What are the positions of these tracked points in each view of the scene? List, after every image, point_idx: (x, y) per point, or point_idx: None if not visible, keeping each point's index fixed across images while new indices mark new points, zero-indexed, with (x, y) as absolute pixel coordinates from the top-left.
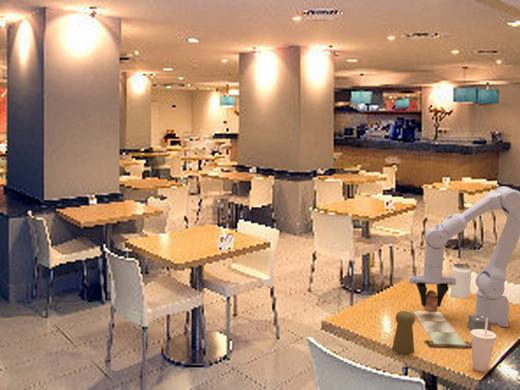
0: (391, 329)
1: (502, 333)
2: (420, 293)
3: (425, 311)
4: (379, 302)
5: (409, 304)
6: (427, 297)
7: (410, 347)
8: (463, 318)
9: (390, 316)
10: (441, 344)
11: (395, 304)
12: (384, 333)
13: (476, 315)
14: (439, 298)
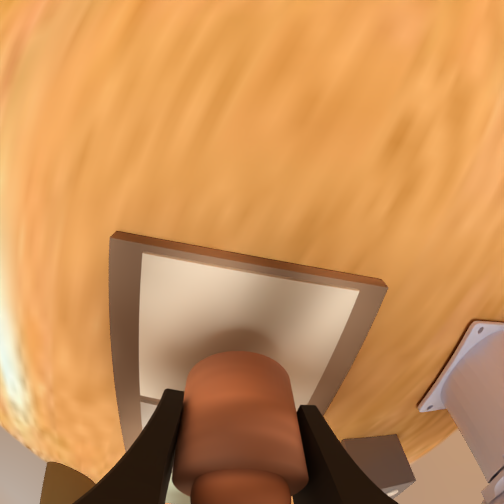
0: (27, 396)
1: (428, 437)
2: (128, 469)
3: (246, 276)
4: (21, 14)
5: (219, 23)
6: (187, 493)
7: None
8: (435, 334)
9: (12, 271)
10: (170, 502)
11: (100, 29)
12: (14, 409)
13: (386, 488)
14: (294, 497)
